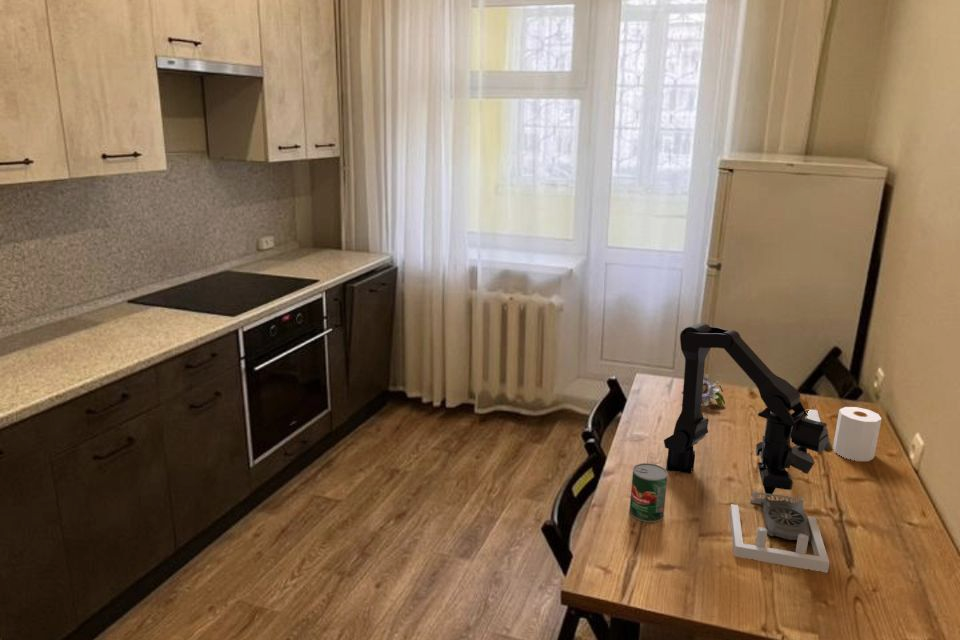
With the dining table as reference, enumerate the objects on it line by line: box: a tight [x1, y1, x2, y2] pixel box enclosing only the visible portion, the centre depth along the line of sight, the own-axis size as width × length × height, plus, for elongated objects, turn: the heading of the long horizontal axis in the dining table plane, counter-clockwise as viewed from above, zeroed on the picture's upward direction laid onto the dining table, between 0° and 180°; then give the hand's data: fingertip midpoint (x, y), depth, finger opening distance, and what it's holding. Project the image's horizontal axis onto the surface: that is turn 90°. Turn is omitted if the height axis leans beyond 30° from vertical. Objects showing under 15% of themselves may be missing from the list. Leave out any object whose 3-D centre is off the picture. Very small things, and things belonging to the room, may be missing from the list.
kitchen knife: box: [807, 409, 831, 450], centre depth 210 cm, size 29×3×5 cm
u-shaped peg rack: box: [729, 503, 831, 574], centre depth 152 cm, size 18×18×6 cm
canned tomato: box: [628, 462, 669, 523], centre depth 161 cm, size 8×8×11 cm
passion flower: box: [681, 373, 726, 408], centre depth 226 cm, size 11×11×12 cm
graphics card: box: [749, 491, 811, 542], centre depth 160 cm, size 17×4×12 cm
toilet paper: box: [832, 406, 882, 462], centre depth 193 cm, size 10×10×12 cm
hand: (768, 496), depth 168 cm, fingers closed
